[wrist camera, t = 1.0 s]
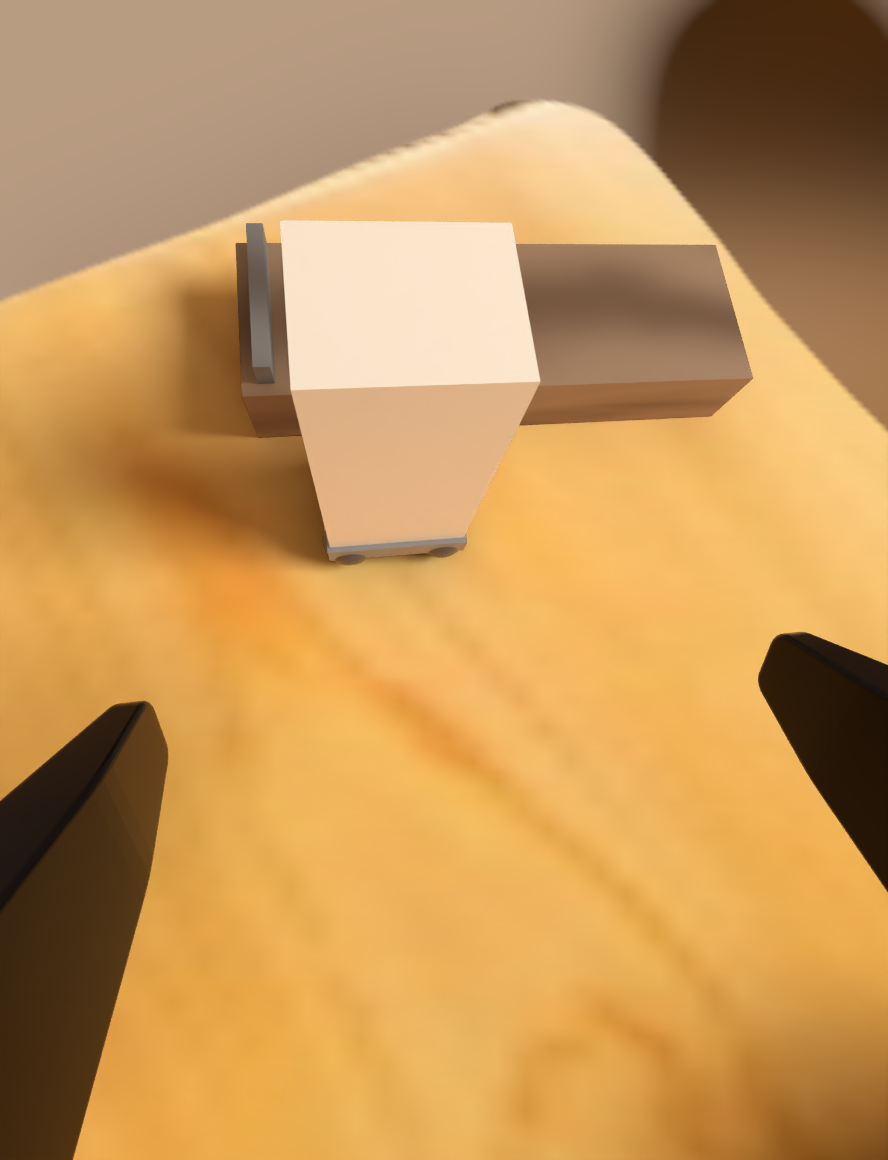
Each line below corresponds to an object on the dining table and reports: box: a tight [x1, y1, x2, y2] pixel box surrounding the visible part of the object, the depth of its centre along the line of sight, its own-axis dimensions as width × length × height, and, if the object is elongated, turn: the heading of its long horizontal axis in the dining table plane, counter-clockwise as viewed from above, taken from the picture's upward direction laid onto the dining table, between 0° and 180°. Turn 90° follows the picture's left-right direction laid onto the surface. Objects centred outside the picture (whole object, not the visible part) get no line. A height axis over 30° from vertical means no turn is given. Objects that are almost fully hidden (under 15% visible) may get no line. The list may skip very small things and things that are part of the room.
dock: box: [236, 223, 753, 437], centre depth 23 cm, size 7×21×4 cm, turn 97°
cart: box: [280, 221, 540, 565], centre depth 17 cm, size 5×6×12 cm
